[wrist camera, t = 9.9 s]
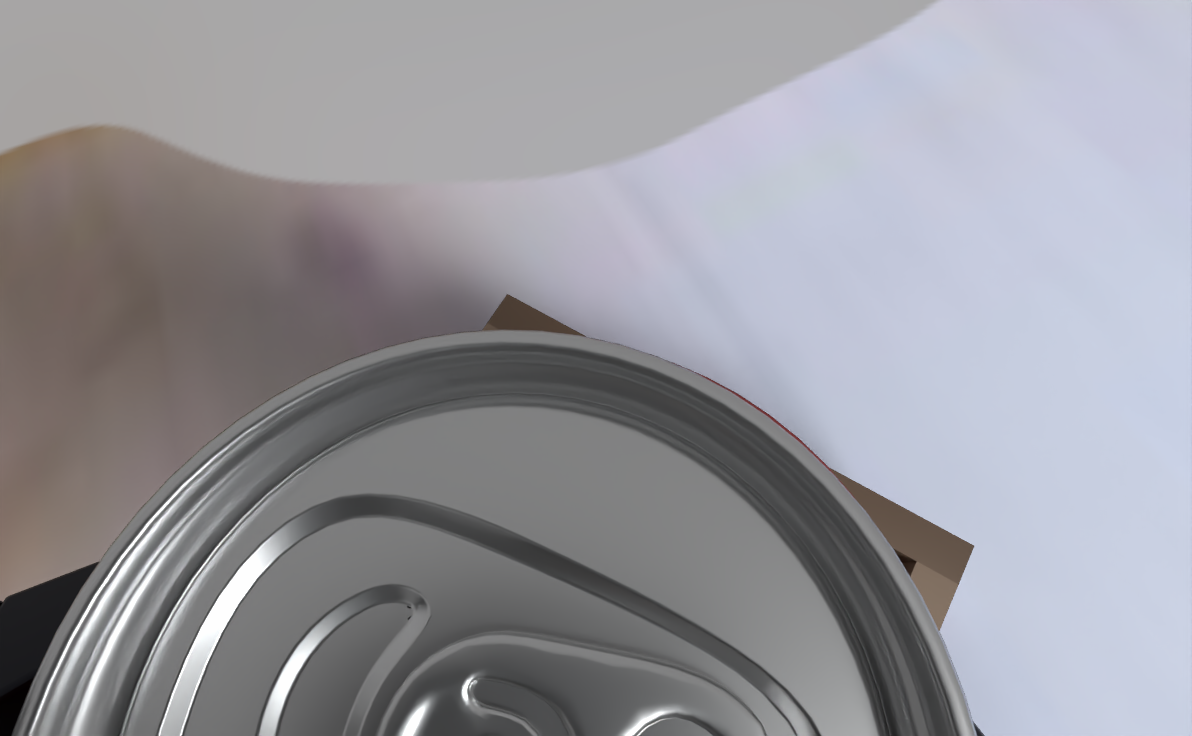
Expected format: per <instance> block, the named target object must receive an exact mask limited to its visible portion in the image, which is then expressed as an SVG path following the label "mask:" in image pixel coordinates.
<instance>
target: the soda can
mask: <svg viewBox="0 0 1192 736" xmlns="http://www.w3.org/2000/svg"><path fill="white" fill-rule="evenodd" d="M12 736H977V734H976V730H975V727H974V724H973V720H972V717H971V714H970V710H969V707H968V703H967V700H966V697H965V693H964V691H963V688H962V686H961V683H960V681H959V678H958V676H957V673H956V670H955V668H954V665H953V663H952V660H951V658H950V655H949V653H948V650H947V647H946V645H945V642H944V640H943V638H942V636H941V634H940V632H939V630H938V628H937V626H936V624H935V622H934V620H933V618H932V616H931V614H930V612H929V610H928V608H927V606H926V604H925V602H924V600H923V598H922V596H921V594H920V592H919V590H918V589H917V587H916V586H915V584H914V582H913V581H912V579H911V577H910V576H909V574H908V572H907V571H906V569H905V567H904V566H903V564H902V562H901V561H900V559H899V557H898V556H897V554H896V552H895V551H894V549H893V548H892V547H891V545H890V544H889V542H888V541H887V540H886V538H885V537H884V536H883V534H882V533H881V531H880V530H879V529H878V527H877V526H876V525H875V523H874V522H873V520H872V519H871V518H870V516H869V515H868V514H867V512H866V511H865V510H864V509H863V507H862V506H861V505H860V504H859V503H858V502H857V500H856V499H855V498H854V496H853V495H852V494H851V493H850V492H849V490H848V489H847V488H846V487H845V486H844V485H843V483H842V482H841V481H840V480H839V479H838V478H837V477H836V475H835V474H834V473H833V472H832V471H831V470H830V469H829V467H828V466H827V465H826V464H825V463H824V462H823V461H822V460H821V459H820V458H819V457H818V456H816V455H815V454H814V453H813V452H812V451H811V450H810V449H809V448H808V447H807V446H806V445H805V444H804V443H803V442H802V441H801V440H800V439H799V438H798V437H796V436H795V435H794V434H793V433H791V432H790V431H789V430H788V429H786V428H785V427H784V426H783V425H781V424H780V423H779V422H778V421H776V420H775V419H774V418H773V417H771V416H770V415H769V414H767V413H766V412H764V411H763V410H761V409H760V408H758V407H757V406H755V405H754V404H752V403H751V402H749V401H748V400H746V399H745V398H743V397H742V396H740V395H739V394H737V393H735V392H733V391H732V390H730V389H728V388H726V387H724V386H722V385H720V384H719V383H717V382H715V381H713V380H711V379H709V378H707V377H705V376H703V375H701V374H698V373H696V372H694V371H691V370H689V369H686V368H684V367H682V366H679V365H677V364H675V363H672V362H669V361H667V360H664V359H662V358H660V357H657V356H654V355H651V354H648V353H645V352H642V351H639V350H635V349H632V348H629V347H626V346H623V345H620V344H616V343H611V342H607V341H602V340H598V339H593V338H589V337H584V336H579V335H571V334H563V333H555V332H547V331H531V330H487V331H470V332H459V333H453V334H446V335H439V336H433V337H426V338H421V339H417V340H413V341H409V342H405V343H401V344H397V345H393V346H388V347H385V348H382V349H379V350H376V351H373V352H370V353H367V354H364V355H361V356H358V357H355V358H352V359H349V360H347V361H344V362H342V363H340V364H338V365H335V366H333V367H331V368H329V369H326V370H324V371H322V372H319V373H317V374H315V375H313V376H310V377H308V378H307V379H305V380H303V381H301V382H299V383H297V384H296V385H294V386H292V387H290V388H288V389H286V390H284V391H283V392H281V393H279V394H277V395H275V396H273V397H272V398H270V399H269V400H267V401H266V402H264V403H263V404H261V405H260V406H258V407H257V408H255V409H254V410H252V411H251V412H249V413H248V414H246V415H244V416H243V417H241V418H240V419H238V420H237V421H236V422H234V423H233V424H232V425H231V426H229V427H228V428H227V429H225V430H224V431H223V432H222V433H220V434H219V435H218V436H216V437H215V438H214V439H213V440H211V441H210V442H209V443H207V444H206V445H205V446H204V447H202V448H201V449H200V450H199V451H198V452H197V453H196V454H195V455H194V456H193V457H192V458H190V459H189V460H188V461H187V462H186V463H185V464H184V465H183V466H182V467H181V468H180V469H178V470H177V471H176V472H175V473H174V474H173V475H172V476H171V477H170V478H169V479H168V480H167V481H166V482H165V483H164V484H163V485H162V486H161V487H160V488H159V490H158V491H157V492H156V493H155V494H154V495H153V496H152V497H151V498H150V499H149V500H148V501H147V502H146V503H145V504H144V506H143V507H142V508H141V509H140V510H139V511H138V512H137V513H136V515H135V516H134V517H133V518H132V520H131V521H130V522H129V523H128V525H127V526H126V527H125V528H124V530H123V531H122V532H121V533H120V535H119V536H118V537H117V538H116V540H115V541H114V542H113V543H112V545H111V546H110V547H109V548H108V550H107V551H106V553H105V554H104V556H103V557H102V559H101V560H100V562H99V563H98V565H97V566H96V568H95V569H94V570H93V572H92V573H91V575H90V576H89V578H88V579H87V581H86V582H85V584H84V585H83V587H82V588H81V590H80V591H79V593H78V595H77V597H76V598H75V600H74V602H73V604H72V605H71V607H70V609H69V610H68V612H67V614H66V616H65V617H64V619H63V621H62V623H61V624H60V626H59V628H58V629H57V631H56V633H55V635H54V637H53V639H52V641H51V643H50V645H49V648H48V650H47V652H46V654H45V656H44V658H43V660H42V662H41V664H40V666H39V668H38V670H37V672H36V675H35V677H34V679H33V681H32V683H31V686H30V689H29V691H28V694H27V696H26V699H25V701H24V704H23V706H22V709H21V712H20V714H19V717H18V719H17V722H16V724H15V727H14V729H13V732H12Z"/></svg>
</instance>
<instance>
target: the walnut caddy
mask: <svg viewBox="0 0 1192 736" xmlns="http://www.w3.org/2000/svg"><path fill="white" fill-rule="evenodd" d="M487 330H531V331H547V332H555V333H563V334H571V335H579V336H584V335H582V334H580V333H579V332H577V331H575V330H573V329H571V328H569V327H567V326H566V325H564V324H562V323H560V322H558V321H556V320H555V319H553V318H551V317H549V316H547V315H545V314H543V313H542V312H540V311H538V310H536V309H534V308H532V307H530V306H529V305H527V304H525V303H523V302H521V301H519V300H517V299H516V298H514V297H512V296H510V295H508V294H507V295H506V297H505V298H504V300H503V301H502V303H501V304H500V305H499V307H498V308H497V310H496V311H495V313H494V314H493V316H492V317H491V318H490V320H489V321H488V323H487V324H486V326H485V327H484V329H483V330H482V331H487ZM584 337H586V336H584ZM829 469H830V470H831V471H832V472H833V473H834V474H835V475H836V477H837V478H838V479H839V480H840V481H841V482H842V483H843V485H844V486H845V487H846V488H847V489H848V490H849V492H850V493H851V494H852V495H853V496H854V498H855V499H856V500H857V502H858V503H859V504H860V505H861V506H862V507H863V509H864V510H865V511H866V512H867V514H868V515H869V516H870V518H871V519H872V520H873V522H874V523H875V525H876V526H877V527H878V529H879V530H880V531H881V533H882V534H883V536H884V537H885V538H886V540H887V541H888V542H889V544H890V545H891V547H892V548H893V549H894V551H895V552H896V554H897V556H898V557H899V559H900V561H901V562H902V564H903V566H904V567H905V569H906V571H907V572H908V574H909V576H910V577H911V579H912V581H913V582H914V584H915V586H916V587H917V589H918V590H919V592H920V594H921V596H922V598H923V600H924V602H925V604H926V606H927V608H928V610H929V612H930V614H931V616H932V618H933V620H934V622H935V624H936V626H937V628H938V630H939V631H940V628H941V626H942V623H943V621H944V618H945V616H946V613H947V611H948V609H949V606H950V604H951V601H952V599H953V596H954V594H955V592H956V589H957V587H958V584H959V582H960V579H961V577H962V575H963V572H964V570H965V567H966V565H967V562H968V560H969V557H970V555H971V553H972V550H973V548H974V545H972V544H970V543H968V542H966V541H964V540H962V539H961V538H959V537H957V536H955V535H953V534H951V533H949V532H948V531H946V530H944V529H942V528H940V527H938V526H936V525H935V524H933V523H931V522H929V521H927V520H925V519H923V518H922V517H920V516H918V515H916V514H914V513H912V512H910V511H909V510H907V509H905V508H903V507H901V506H899V505H898V504H896V503H894V502H892V501H890V500H888V499H886V498H885V497H883V496H881V495H879V494H877V493H875V492H873V491H872V490H870V489H868V488H866V487H864V486H862V485H860V484H859V483H857V482H855V481H853V480H851V479H849V478H847V477H846V476H844V475H842V474H840V473H838V472H836V471H834V470H833V469H831V468H829Z"/></svg>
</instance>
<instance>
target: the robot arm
mask: <svg viewBox="0 0 1192 736" xmlns="http://www.w3.org/2000/svg"><path fill="white" fill-rule="evenodd" d="M99 562H100V561H99ZM99 562H96V563H94V564H91V565H89V566H86V567H83V568H81V569H78V570H75V571H73V572H70V573H68V574H65V575H62V576H60V577H57V578H55V579H52V580H49V581H47V582H44V583H42V584H39V585H36V586H34V587H31V588H29V589H26V590H23V591H21V592H18V593H15V594H13V595H10V596H8V597H7V598H6V599H5V600H4V601H3V602H2V601H0V736H12V732H13V729H14V727H15V724H16V722H17V719H18V717H19V714H20V712H21V709H22V706H23V704H24V701H25V699H26V696H27V694H28V691H29V689H30V686H31V683H32V681H33V679H34V677H35V675H36V672H37V670H38V668H39V666H40V664H41V662H42V660H43V658H44V656H45V654H46V652H47V650H48V648H49V645H50V643H51V641H52V639H53V637H54V635H55V633H56V631H57V629H58V628H59V626H60V624H61V623H62V621H63V619H64V617H65V616H66V614H67V612H68V610H69V609H70V607H71V605H72V604H73V602H74V600H75V598H76V597H77V595H78V593H79V591H80V590H81V588H82V587H83V585H84V584H85V582H86V581H87V579H88V578H89V576H90V575H91V573H92V572H93V570H94V569H95V568H96V566H97V565H98V563H99ZM973 724H974V727H975V730H976V734H977V736H984V734H983V733H982V732H981V730H980V729H979V728H978V727H977V725H976V724H975V723H974V722H973Z"/></svg>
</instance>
